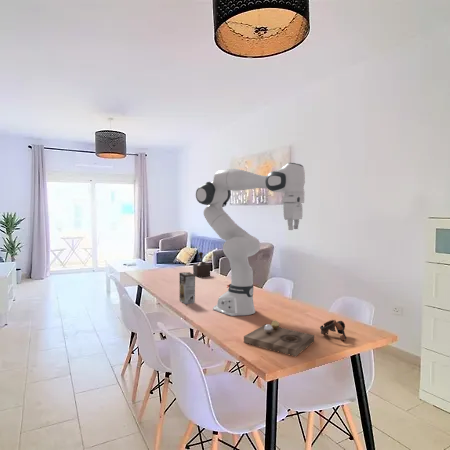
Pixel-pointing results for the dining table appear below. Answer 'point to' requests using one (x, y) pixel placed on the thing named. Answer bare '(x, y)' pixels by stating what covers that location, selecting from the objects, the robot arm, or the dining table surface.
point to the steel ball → (268, 328)
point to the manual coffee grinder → (201, 268)
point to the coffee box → (187, 287)
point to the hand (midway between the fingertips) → (293, 229)
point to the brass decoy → (275, 324)
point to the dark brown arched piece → (331, 326)
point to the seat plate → (280, 340)
